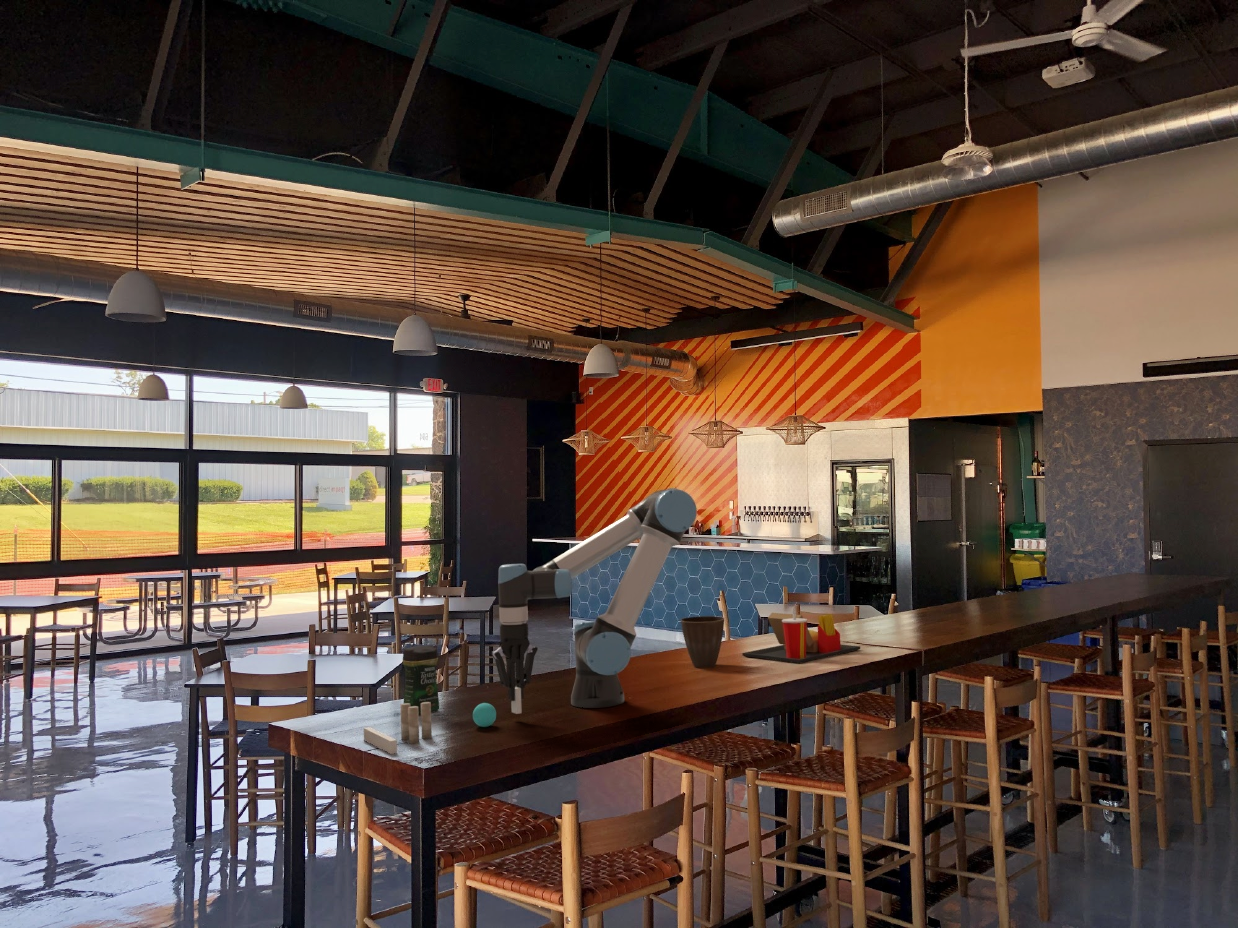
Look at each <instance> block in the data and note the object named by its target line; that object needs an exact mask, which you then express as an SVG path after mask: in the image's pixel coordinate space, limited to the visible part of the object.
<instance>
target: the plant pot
mask: <svg viewBox="0 0 1238 928" xmlns="http://www.w3.org/2000/svg"><path fill="white" fill-rule="evenodd" d="M680 624H681V625H680V626H681V630H682V635H683V639H684V643H685V646H686V650H687V652H688V655H689V657H690V660H691V663H692V666H693V667H694V668H698V669H699V668H700V669H707V668H713V667H716V665H717V661H718V659H719V655H720V650H721V647H722V640H723V635H724V625H725V617H723V616H722V617H721V616H713V615H709V616H707V615H705V616H703V615H701V616H690V617H683V618H681V619H680Z"/></svg>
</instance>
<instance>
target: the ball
mask: <svg viewBox="0 0 1238 928" xmlns="http://www.w3.org/2000/svg"><path fill="white" fill-rule="evenodd" d="M496 718H497V711H496V708H495V707H494V705H492V704H491V703H488V702H482V703H479V704H478V705H476V707H475V708H474V709H473V712H472V720H473V722H474V723H475V724H476V725H477V726H479V727H482V728H487V727H489V726H491V725H493V724H494V722H495V721H496Z"/></svg>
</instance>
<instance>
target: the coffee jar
mask: <svg viewBox="0 0 1238 928" xmlns="http://www.w3.org/2000/svg"><path fill="white" fill-rule="evenodd" d="M438 661H439V655H438V648H437V647H436V645H430V644H425V645H416V646H411V647H407V648H406V647H405V648H404V650H403V653H402V665H403V667H404V693H403V704H404V703H410V707H412V706H418V715H419V716H421V703H423V702H430V703H431V714H432V713H435V712H438V711H439V710H440V700H439V698H440V697H439V690H438V682H437V665H438Z"/></svg>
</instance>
